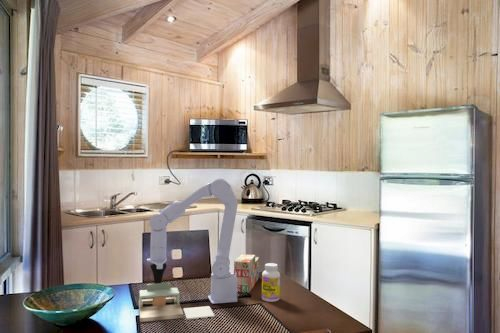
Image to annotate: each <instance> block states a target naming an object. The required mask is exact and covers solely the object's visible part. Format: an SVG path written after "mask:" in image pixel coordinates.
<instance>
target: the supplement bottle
mask: <svg viewBox="0 0 500 333" xmlns="http://www.w3.org/2000/svg"><path fill="white" fill-rule="evenodd" d="M278 268H279V267H278V264H277V263H273V262H268V263H265V264H264V269H265V270H263V271H262V273H261V276H262V277H261V299H262V300H263V301H265V302H267V303H268V302H269V303H273V302H278V301H279V300H280V298H281V297H280V295H281V294H280V292H281V287H280V286H281V273H280V272H279V270H278Z"/></svg>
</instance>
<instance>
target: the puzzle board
mask: <svg viewBox="0 0 500 333" xmlns="http://www.w3.org/2000/svg"><path fill="white" fill-rule="evenodd" d="M167 303H173V304H167ZM144 305H151V306H144ZM138 311H139V312H138V313H139V315H138V316H139V323H145V322H155V321H164V320H174V319H175V320H176V319H183V318H184V316H185V314H184V311H183V308H182V305H181V304H180V302H179V303H177V301H176V298H175V296H172V297H171V296H170V297H166V305H162V306H153V298H146V299H145V298H144V299H142V307H140V302H139V301H138Z"/></svg>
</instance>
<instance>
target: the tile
mask: <svg viewBox="0 0 500 333" xmlns="http://www.w3.org/2000/svg"><path fill="white" fill-rule="evenodd" d="M182 311H183V314H184V316H185V318H186V320H187V321H188V320H200V319H199V318H201V319H209V318H208V317H211V318H215V317H216V315H215V313H214V312H213V310H212V308H211V307H210V305H205V306H194V307H184V308H183V307H182Z"/></svg>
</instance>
